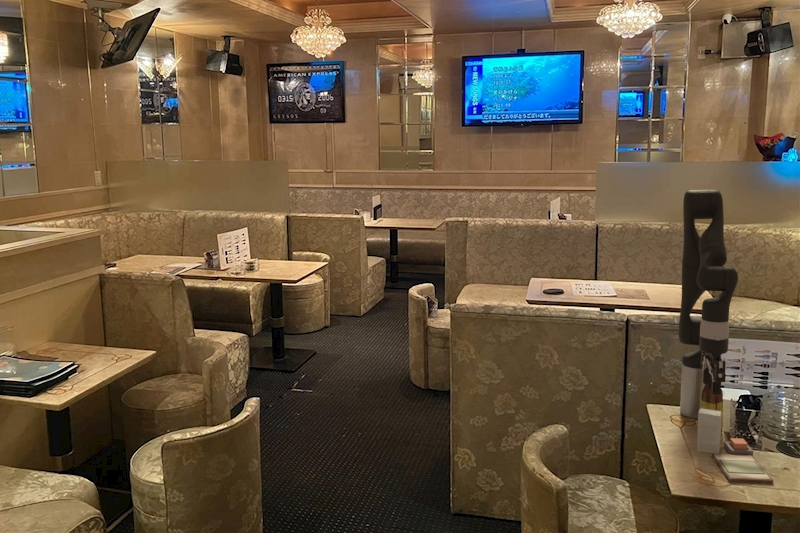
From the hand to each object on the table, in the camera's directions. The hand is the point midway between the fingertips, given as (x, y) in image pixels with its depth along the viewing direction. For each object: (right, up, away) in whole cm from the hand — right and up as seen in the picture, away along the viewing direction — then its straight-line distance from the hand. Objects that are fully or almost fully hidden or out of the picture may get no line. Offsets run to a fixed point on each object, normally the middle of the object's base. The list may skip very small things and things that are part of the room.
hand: (711, 388), depth 194 cm
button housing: (+8, -19, +1) cm, 21 cm away
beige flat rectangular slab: (+4, -21, -9) cm, 23 cm away
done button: (+8, -17, +1) cm, 19 cm away
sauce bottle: (+7, -17, +16) cm, 24 cm away
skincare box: (+1, -19, +3) cm, 19 cm away
